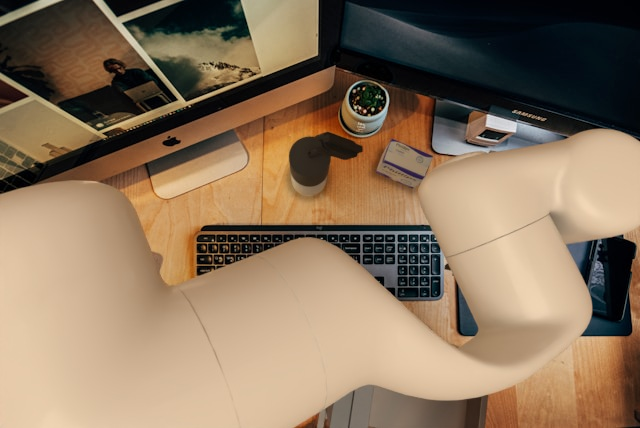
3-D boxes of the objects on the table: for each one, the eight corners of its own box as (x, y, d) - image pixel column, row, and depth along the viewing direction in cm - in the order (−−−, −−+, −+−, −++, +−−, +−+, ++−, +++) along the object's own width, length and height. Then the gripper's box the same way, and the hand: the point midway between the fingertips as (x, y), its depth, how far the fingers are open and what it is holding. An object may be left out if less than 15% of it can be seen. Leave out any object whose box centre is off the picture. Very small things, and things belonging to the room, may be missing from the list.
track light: (309, 199, 84) (397, 180, 71) (237, 185, 72) (327, 159, 59) (308, 166, 85) (395, 141, 72) (237, 147, 73) (326, 113, 60)
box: (374, 173, 82) (381, 160, 74) (382, 152, 83) (391, 136, 75) (412, 189, 82) (425, 178, 74) (421, 168, 83) (434, 155, 74)
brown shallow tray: (315, 415, 54) (316, 428, 49) (330, 325, 56) (332, 328, 51) (467, 441, 54) (482, 456, 49) (476, 350, 56) (492, 356, 51)
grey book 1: (324, 403, 53) (328, 429, 44) (334, 341, 55) (340, 352, 45) (339, 406, 53) (347, 432, 44) (349, 343, 55) (359, 355, 45)
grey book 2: (340, 406, 53) (348, 432, 44) (349, 343, 55) (359, 355, 45) (355, 409, 53) (366, 436, 44) (364, 346, 55) (377, 358, 45)
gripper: (496, 114, 42) (442, 164, 59) (472, 295, 39) (422, 292, 56) (574, 129, 42) (497, 175, 59) (555, 311, 39) (480, 304, 56)
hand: (461, 232), depth 57 cm, fingers open, 9 cm apart
